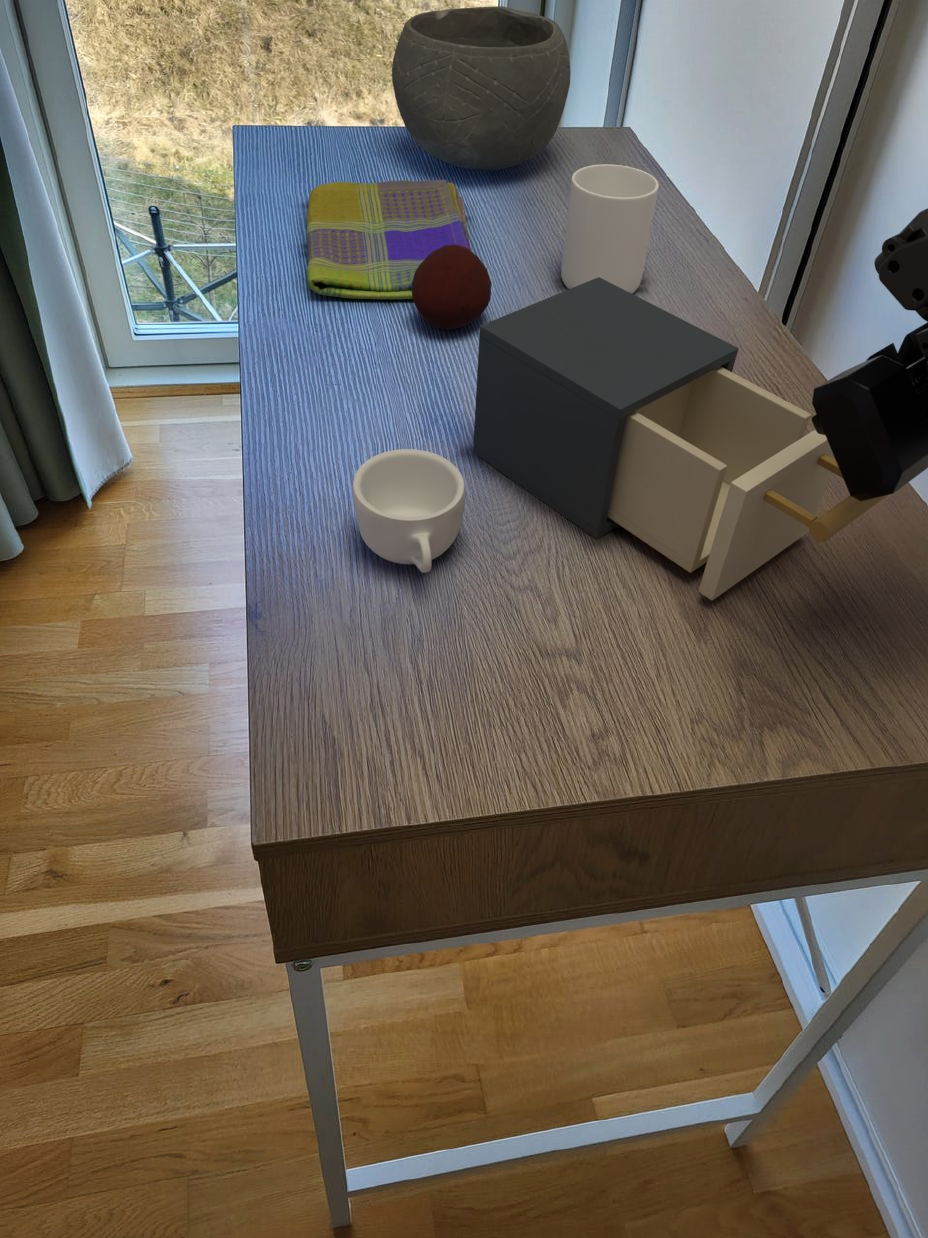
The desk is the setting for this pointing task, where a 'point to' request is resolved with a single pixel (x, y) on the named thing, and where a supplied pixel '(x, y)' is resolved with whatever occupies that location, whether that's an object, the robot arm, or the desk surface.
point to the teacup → (409, 505)
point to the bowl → (481, 84)
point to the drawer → (724, 478)
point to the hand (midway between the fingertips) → (817, 423)
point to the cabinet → (579, 390)
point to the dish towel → (378, 235)
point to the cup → (608, 225)
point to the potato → (451, 287)
